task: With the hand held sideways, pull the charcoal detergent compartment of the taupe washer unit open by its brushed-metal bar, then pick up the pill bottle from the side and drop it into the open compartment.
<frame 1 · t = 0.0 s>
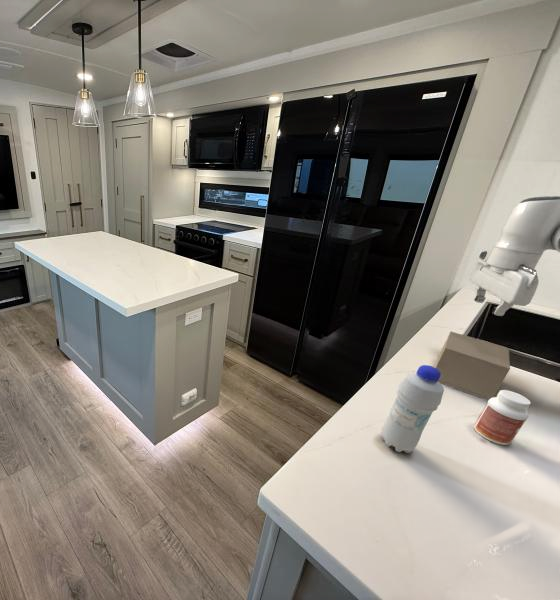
hand: (487, 307, 87), 21 cm above the countertop, tool pointing down, fingers open, 8 cm apart
detergent drawer: (469, 358, 91), point 5 cm above the countertop, slide at 0.0 cm, touching washer unit
bottle: (394, 444, 67), on the countertop
pill bottle: (490, 435, 71), on the countertop
washer unit: (460, 378, 90), on the countertop
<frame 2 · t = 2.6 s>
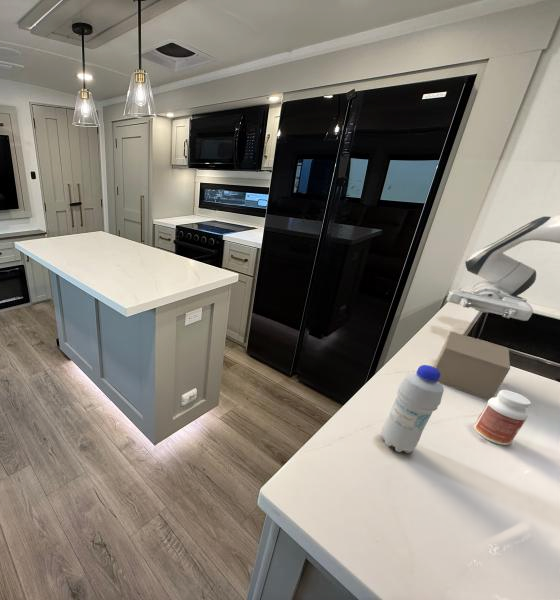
hand: (486, 310, 100), 15 cm above the countertop, tool horizontal, fingers open, 8 cm apart
nothing on the countertop moved.
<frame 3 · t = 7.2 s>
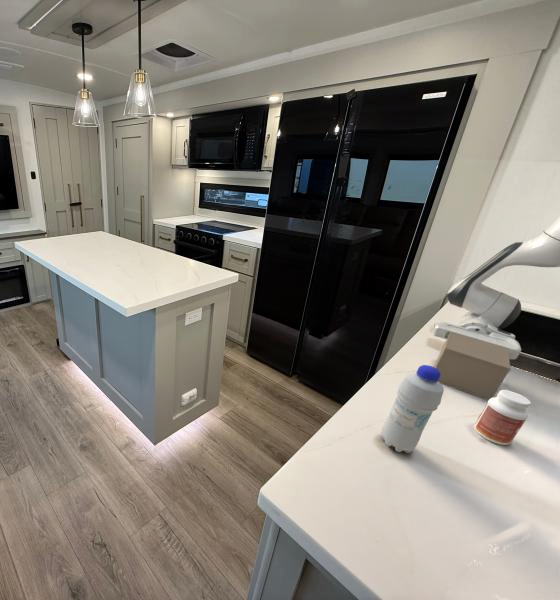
hand: (472, 347, 95), 6 cm above the countertop, tool horizontal, fingers closed on detergent drawer, 6 cm apart
detergent drawer: (469, 358, 91), point 5 cm above the countertop, slide at 0.0 cm, touching gripper, washer unit
everything else where it was.
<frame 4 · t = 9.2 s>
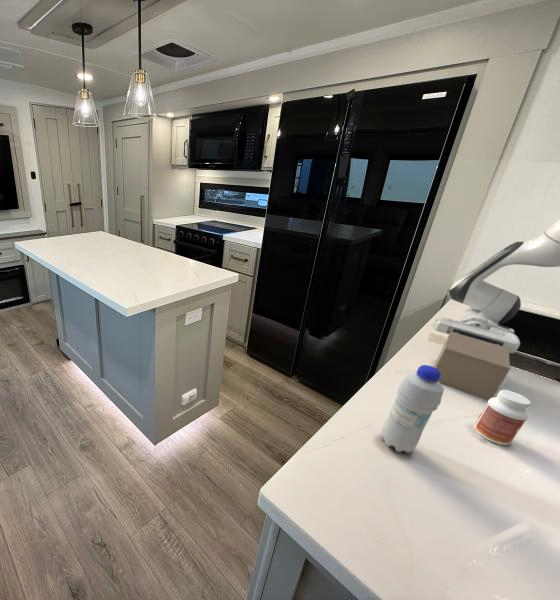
hand: (473, 341, 99), 6 cm above the countertop, tool horizontal, fingers closed on detergent drawer, 6 cm apart
detergent drawer: (470, 352, 94), point 5 cm above the countertop, slide at 5.4 cm, touching gripper
everything else where it was.
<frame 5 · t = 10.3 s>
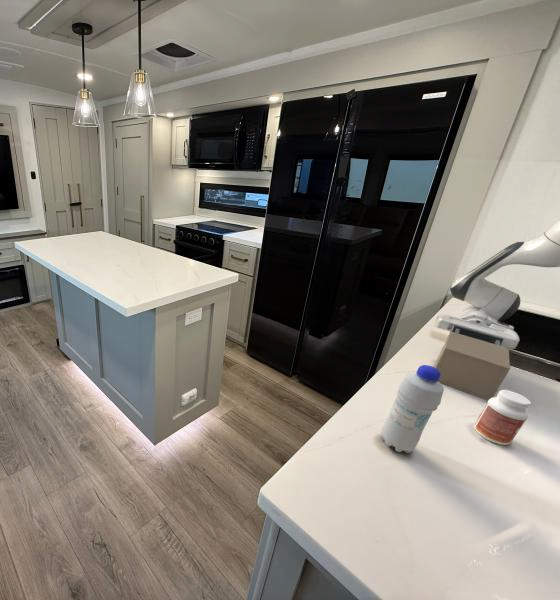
hand: (473, 338, 101), 6 cm above the countertop, tool horizontal, fingers closed on detergent drawer, 6 cm apart
detergent drawer: (471, 348, 97), point 5 cm above the countertop, slide at 8.9 cm, touching gripper
everything else where it was.
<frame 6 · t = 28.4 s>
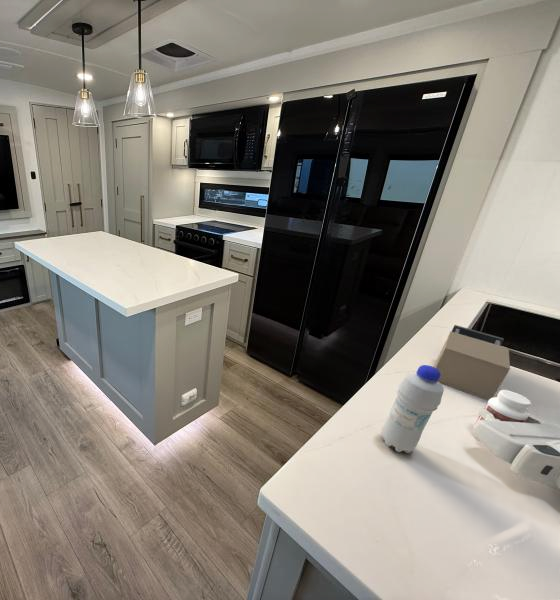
hand: (499, 411, 69), 6 cm above the countertop, tool horizontal, fingers closed on pill bottle, 6 cm apart
detergent drawer: (471, 348, 96), point 5 cm above the countertop, slide at 8.8 cm
pill bottle: (490, 435, 71), on the countertop, touching gripper
everything else where it was.
when the fingers open (16 cm above the countertop, at t = 38.2 s): pill bottle stays where it is, resting on washer unit.
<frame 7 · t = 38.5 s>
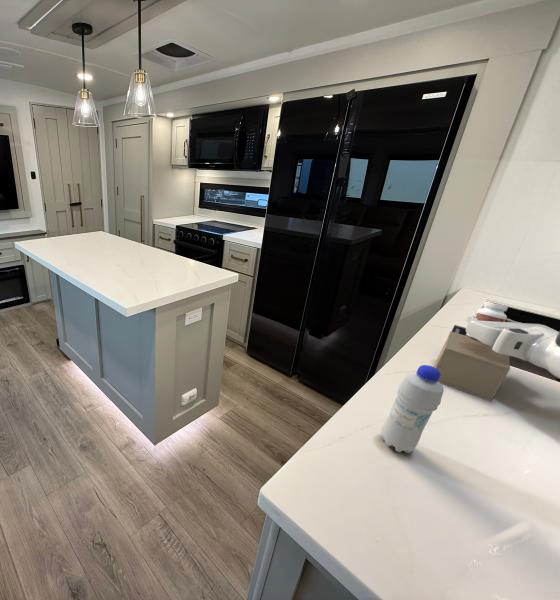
hand: (486, 319, 90), 16 cm above the countertop, tool horizontal, fingers open, 8 cm apart
pill bottle: (479, 339, 92), point 10 cm above the countertop, touching gripper, washer unit
everything else where it was.
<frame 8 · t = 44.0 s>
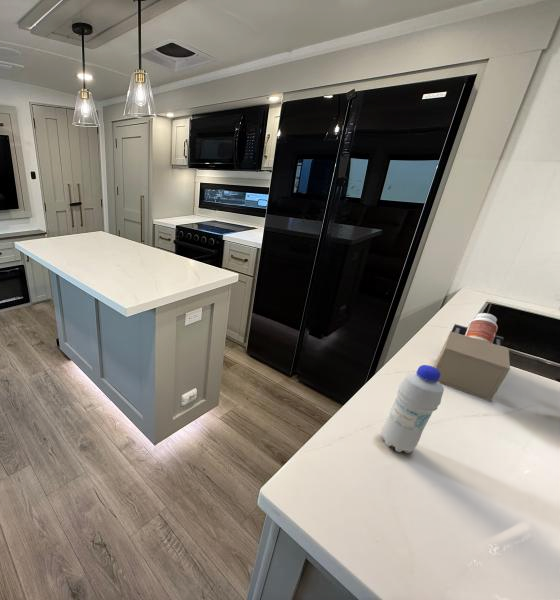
detergent drawer: (471, 347, 97), point 5 cm above the countertop, slide at 9.7 cm, touching pill bottle
pill bottle: (475, 345, 93), point 8 cm above the countertop, touching detergent drawer, washer unit
everything else where it was.
at the end: detergent drawer slide at 9.7 cm; pill bottle inside the target area in the detergent drawer (2.3 cm from its centre), point 8.0 cm above the washer unit's base; pill bottle touching detergent drawer, washer unit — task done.
